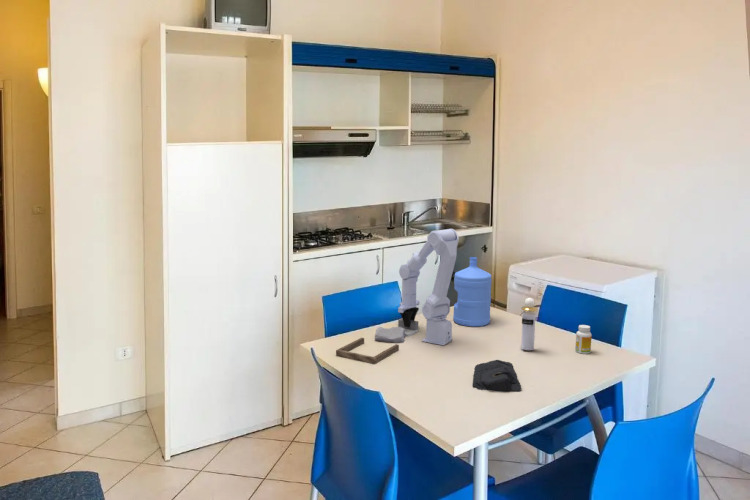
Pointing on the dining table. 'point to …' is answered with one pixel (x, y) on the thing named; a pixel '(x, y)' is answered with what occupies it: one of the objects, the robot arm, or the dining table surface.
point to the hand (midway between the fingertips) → (408, 325)
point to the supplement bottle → (583, 339)
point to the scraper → (411, 329)
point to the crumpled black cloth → (496, 377)
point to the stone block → (390, 334)
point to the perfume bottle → (528, 324)
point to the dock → (344, 353)
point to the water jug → (472, 296)
